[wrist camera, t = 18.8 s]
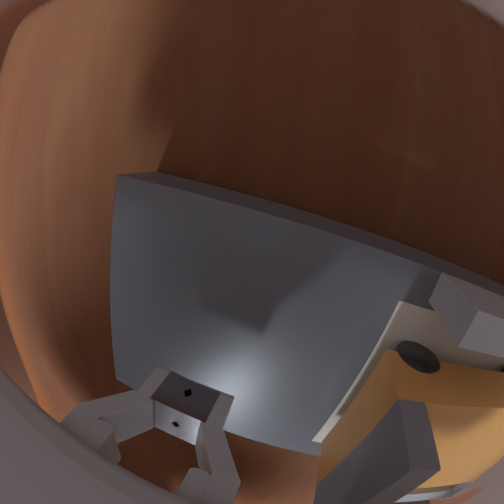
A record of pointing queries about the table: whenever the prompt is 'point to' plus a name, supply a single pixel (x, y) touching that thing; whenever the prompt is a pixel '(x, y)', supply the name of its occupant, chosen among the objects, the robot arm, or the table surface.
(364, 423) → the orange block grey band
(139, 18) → the table surface
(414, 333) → the dock
